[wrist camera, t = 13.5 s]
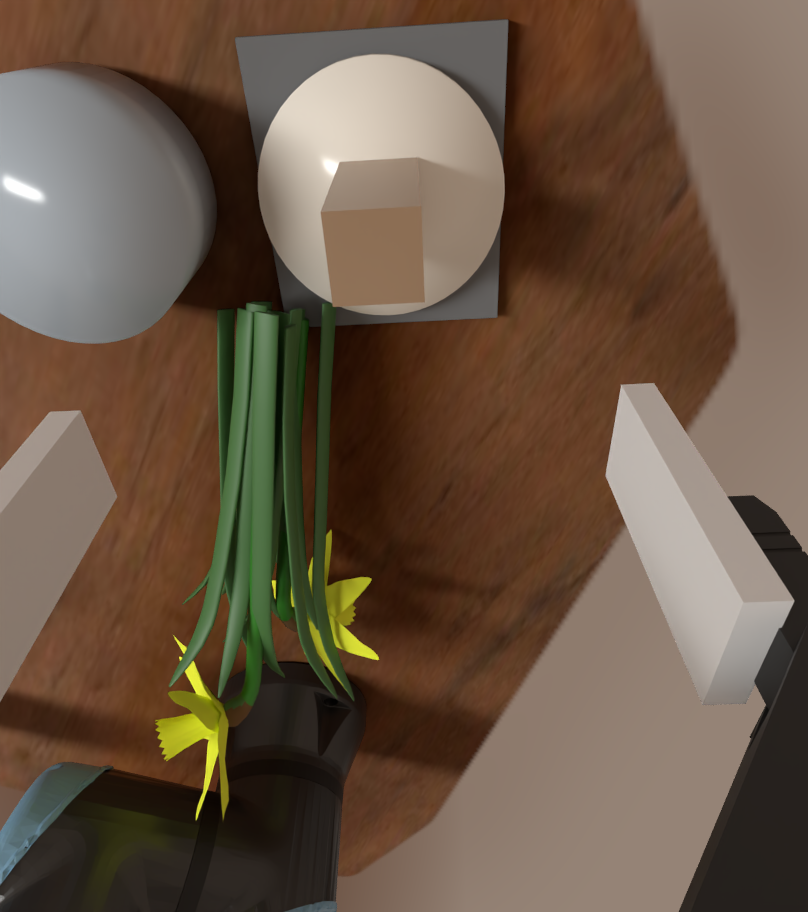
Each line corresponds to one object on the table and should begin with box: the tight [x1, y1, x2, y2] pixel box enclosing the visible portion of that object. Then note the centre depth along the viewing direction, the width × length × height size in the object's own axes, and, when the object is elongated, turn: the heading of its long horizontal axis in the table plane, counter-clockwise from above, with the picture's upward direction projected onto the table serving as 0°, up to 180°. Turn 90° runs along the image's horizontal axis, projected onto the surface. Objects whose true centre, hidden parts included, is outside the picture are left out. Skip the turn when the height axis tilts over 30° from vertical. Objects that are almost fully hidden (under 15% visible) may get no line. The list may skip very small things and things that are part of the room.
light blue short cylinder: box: [0, 62, 217, 343], centre depth 32 cm, size 12×12×7 cm
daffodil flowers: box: [154, 301, 379, 820], centre depth 42 cm, size 17×15×35 cm
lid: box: [258, 53, 505, 315], centre depth 30 cm, size 13×13×10 cm
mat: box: [235, 19, 508, 327], centre depth 34 cm, size 15×13×1 cm
